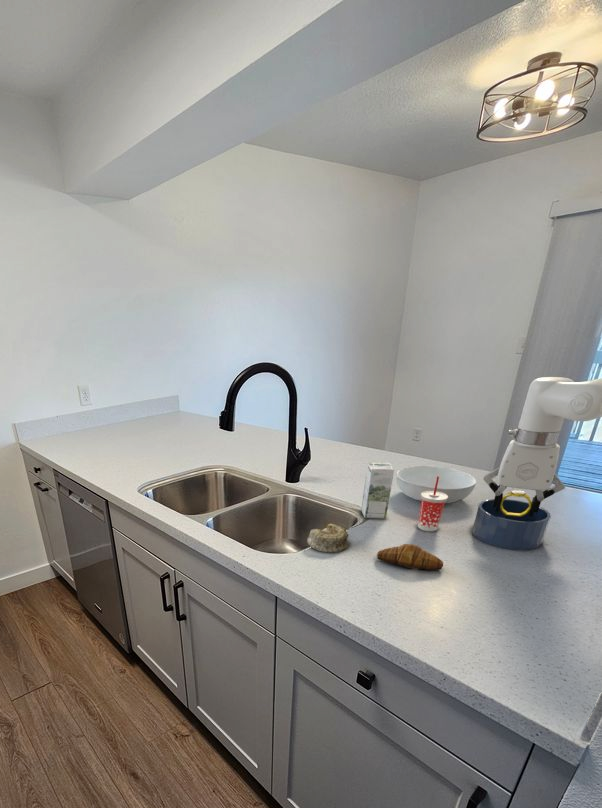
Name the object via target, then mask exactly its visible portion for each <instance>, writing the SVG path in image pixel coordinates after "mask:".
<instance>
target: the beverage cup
mask: <svg viewBox="0 0 602 808" xmlns="http://www.w3.org/2000/svg"><path fill="white" fill-rule="evenodd" d="M438 480H439V476H437V480H436V484H435V489H434V491H425V492H422V493H421V497H420V498H421V501H420V505H419V506H420V507H419V515H418V522H417V527H418V529H419V530H422V531H425V532H436V531H437V530H438V528H439V526H440V521H441V519H442V514H443V511H444V509H445V504H446V503H445V502H446V501H447V499H448V496H447V495H446V494H444V493H441V492H436V490H437V485H438Z"/></svg>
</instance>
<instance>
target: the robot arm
mask: <svg viewBox="0 0 602 808" xmlns="http://www.w3.org/2000/svg"><path fill="white" fill-rule="evenodd" d="M601 417H602V377H599V378H596V379H591V380H586V381H579V382H578V381H577V382H575V381H574V380H573V379H571V378H568V377H562V376H560V377H559V376H543V377H538V378H535V379H533V380H532V381H531V383H530V384H529V387H528V391H527V395H526V398H525V401H524V405H523V407H522V412H521V415H520V419H519V421H518V422H519V423H518V425H517V428H515V429H513V430H512V429H509V430H508V434H507V436H508V437H511V438H513V439H512V440H510V442H509V444H508V446H507V447H506V449H505V452H504V453H503V456H502V459H501V462H500V465H499V467H497V468H495V469H493V470H492V471H490V472H488V473H486V474H485V475H484V476H483V478H482V479H483V481H484V482H485V483H486V485H488V487H489V488H490V489H491V491H492V492H493V493H494V498H493V499H494V502H493V507H495V511H496V512H498V511H499V508H500V505H501V502H502V498H503V497H504V493H503V492H505V490H506V489H507V488H514V489H519V490H520V489H521V490H529V491H530V490H531V491H535V495H534V496H533V497H532V499H531V502H532V504H531V509H530V511H529V516H530V517H533V514H534V512H536V513H537V512H538V509H539V507H541V503H542V502H543V501H545V499H547V498H549V497H551V496H553V495H555V494H558V492H562V491H563V490H564V489H566V485H565V483H564V482H563V481H562V480H561V479H560V477H558V475H557V474H556V470H557V466H558V462H559V458H560V449H561V447H560V444H558V443H557V442H558V439H559V436H560V433H561V430H562V427H563V424H564V421H565V419H566V420H571V421H573V422H574V421H575V422H590V421H593V420H596V419H597V420H598V419H600V418H601ZM494 478H496V481H494ZM552 484H554V485H553V486H552ZM551 486H552V487H551Z"/></svg>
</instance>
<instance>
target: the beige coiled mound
mask: <svg viewBox="0 0 602 808" xmlns="http://www.w3.org/2000/svg"><path fill="white" fill-rule="evenodd" d="M348 537H349V532H348V531H347V530H346V529H345V528H344V526H343V527H342V526H340V525H337V524H335V523H328V524H327V525H326V528H323V529H319V528H313V529H311V530H310V532H309V534H308V537H307V539H306V540H307V541H306V543H307V545H308V546H309V547H310V548H312V549H315V550H316V551H319V552H323V553H338V552H341V551H344V550H346V549H347V548H348V547H349V541H348Z"/></svg>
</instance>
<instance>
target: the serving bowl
mask: <svg viewBox="0 0 602 808" xmlns="http://www.w3.org/2000/svg"><path fill="white" fill-rule="evenodd" d="M437 476H439V480H438V485H437V490H436V492H441V493H444V494H446V495H447V496H448V499H447V501H446V502H445V504H451V503H456V502H459V501H462V500H464V499H465V498H467V497H468V496H469V495H471V494H472V492H473V490H474V489H475V487H476V485H477V479H476V478H475V477H474V476H473V475H471V474H469V473H467V472H464V471H462V470H458V469H455V468H450V467H446V466H437V465H412V466H407V467H403V468H401V469H398V471H396V476H395V477H396V478H395V479H396V485H397V486H398V488H399V490H400V491H401V492H402V493H403V494H404V495H405V496H407V497H409V498H411V499H413V500H417V501H420V502H421V498H420V497H421V493H422V492H425V491H434V489H435V484H436V480H437Z"/></svg>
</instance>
